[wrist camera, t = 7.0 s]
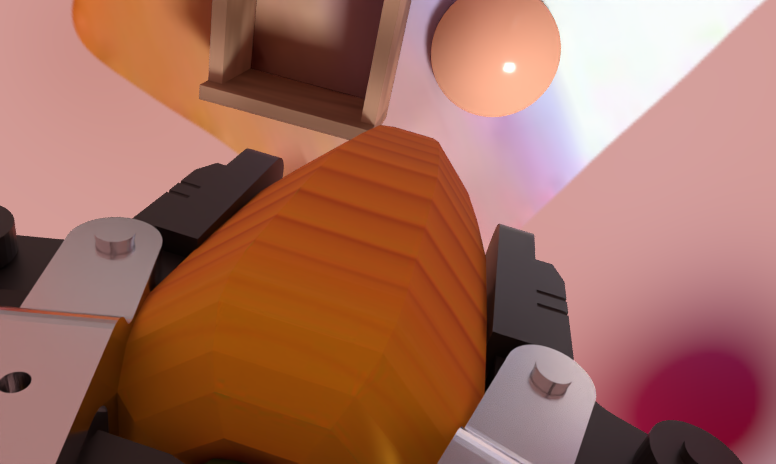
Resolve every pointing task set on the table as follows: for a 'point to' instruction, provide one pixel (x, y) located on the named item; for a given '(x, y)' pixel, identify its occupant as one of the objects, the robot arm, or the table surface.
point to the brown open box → (290, 97)
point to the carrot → (320, 319)
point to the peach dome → (495, 54)
